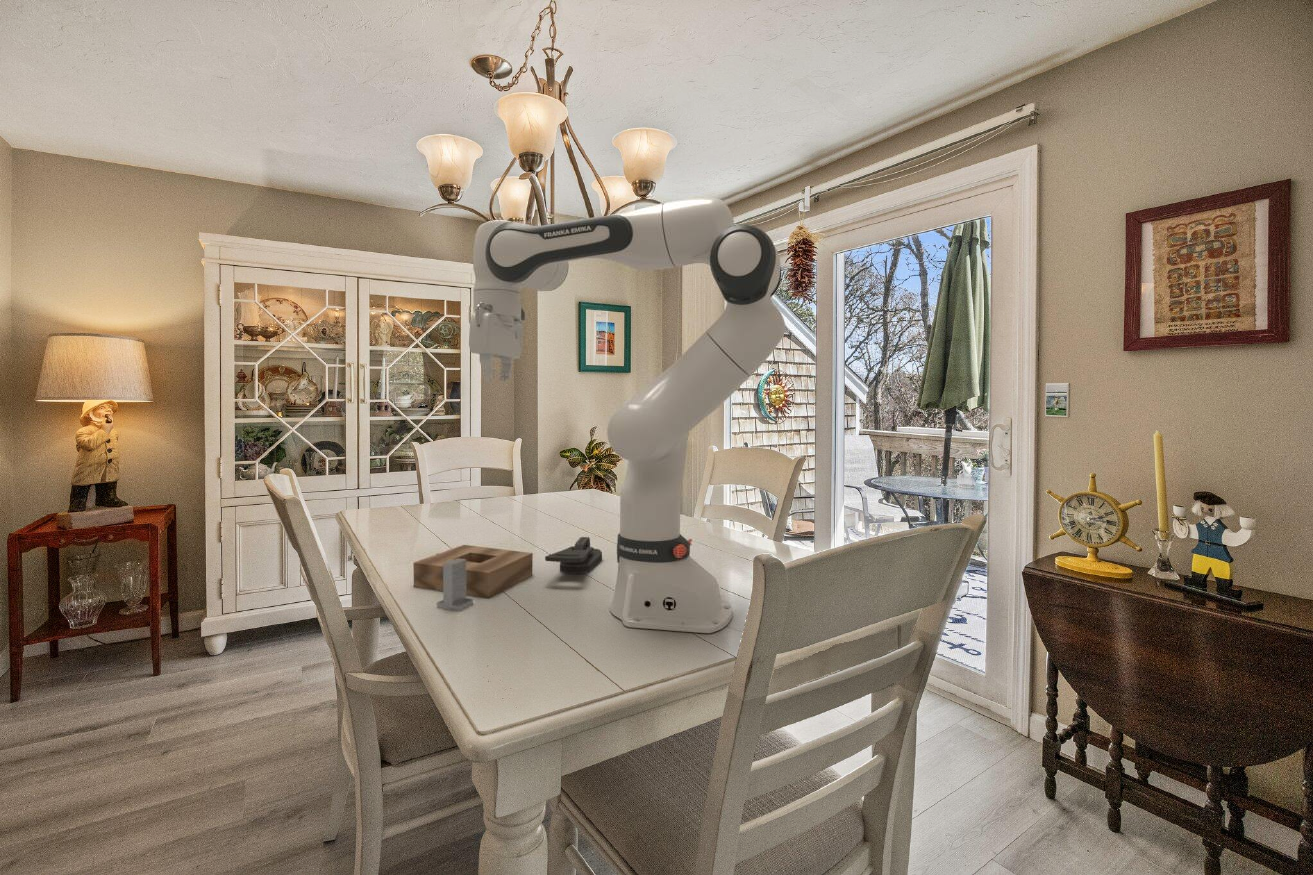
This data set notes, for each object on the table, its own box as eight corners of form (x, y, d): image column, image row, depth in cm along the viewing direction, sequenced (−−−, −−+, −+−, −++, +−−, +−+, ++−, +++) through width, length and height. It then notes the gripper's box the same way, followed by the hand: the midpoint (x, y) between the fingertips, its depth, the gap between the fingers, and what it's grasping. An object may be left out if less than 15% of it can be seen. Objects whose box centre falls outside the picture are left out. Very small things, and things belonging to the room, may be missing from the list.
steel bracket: (473, 604, 114) (472, 560, 114) (459, 611, 111) (458, 565, 110) (451, 601, 116) (450, 557, 116) (436, 607, 112) (436, 562, 112)
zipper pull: (541, 556, 124) (568, 529, 149) (541, 588, 125) (568, 556, 150) (584, 558, 124) (604, 530, 149) (584, 590, 124) (604, 557, 149)
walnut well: (532, 575, 133) (532, 553, 133) (488, 598, 118) (488, 572, 118) (464, 566, 139) (463, 544, 139) (413, 586, 124) (413, 562, 124)
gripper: (494, 300, 107) (494, 379, 108) (528, 315, 128) (527, 381, 129) (459, 300, 108) (460, 378, 109) (498, 315, 128) (498, 381, 129)
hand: (497, 380), depth 119 cm, fingers open, 8 cm apart
